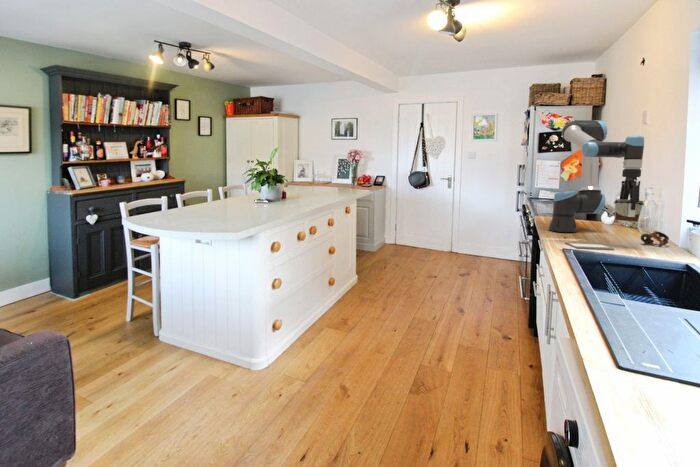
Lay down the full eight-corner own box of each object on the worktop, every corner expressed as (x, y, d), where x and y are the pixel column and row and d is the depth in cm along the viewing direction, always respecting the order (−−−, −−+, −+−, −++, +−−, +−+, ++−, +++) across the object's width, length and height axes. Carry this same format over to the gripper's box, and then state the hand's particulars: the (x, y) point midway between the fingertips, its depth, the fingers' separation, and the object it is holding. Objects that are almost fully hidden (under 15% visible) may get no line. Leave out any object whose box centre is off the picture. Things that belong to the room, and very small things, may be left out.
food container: (642, 221, 209) (645, 200, 207) (641, 222, 204) (644, 201, 202) (613, 218, 216) (615, 198, 214) (611, 219, 211) (614, 199, 209)
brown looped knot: (656, 244, 223) (665, 232, 218) (664, 255, 215) (674, 242, 210) (633, 239, 223) (642, 226, 218) (640, 249, 215) (650, 236, 211)
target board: (564, 243, 220) (564, 242, 220) (598, 244, 217) (598, 243, 217) (577, 248, 202) (577, 247, 202) (613, 250, 199) (614, 248, 199)
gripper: (614, 169, 217) (610, 214, 220) (633, 168, 197) (628, 217, 200) (630, 169, 215) (626, 214, 218) (651, 168, 195) (646, 218, 198)
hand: (627, 216), depth 209 cm, fingers closed on food container, 7 cm apart
